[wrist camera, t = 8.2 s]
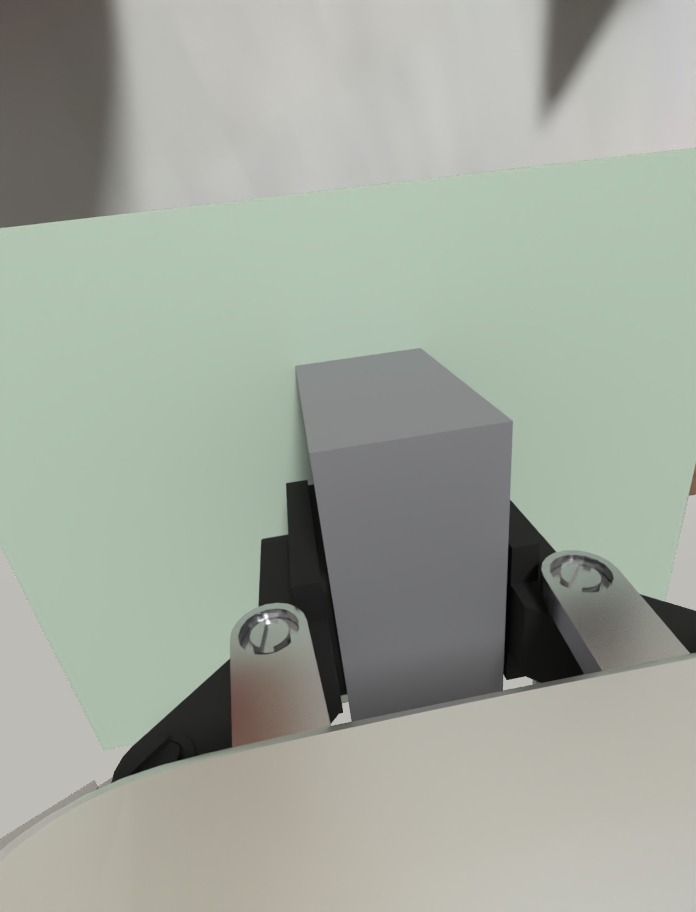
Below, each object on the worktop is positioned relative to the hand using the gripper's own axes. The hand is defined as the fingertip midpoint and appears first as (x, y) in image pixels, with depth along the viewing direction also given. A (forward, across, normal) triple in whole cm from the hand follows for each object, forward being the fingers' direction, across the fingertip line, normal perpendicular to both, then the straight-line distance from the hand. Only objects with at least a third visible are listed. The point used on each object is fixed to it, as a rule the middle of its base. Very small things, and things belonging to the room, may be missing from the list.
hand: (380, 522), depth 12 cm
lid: (+3, 0, 0) cm, 3 cm away
